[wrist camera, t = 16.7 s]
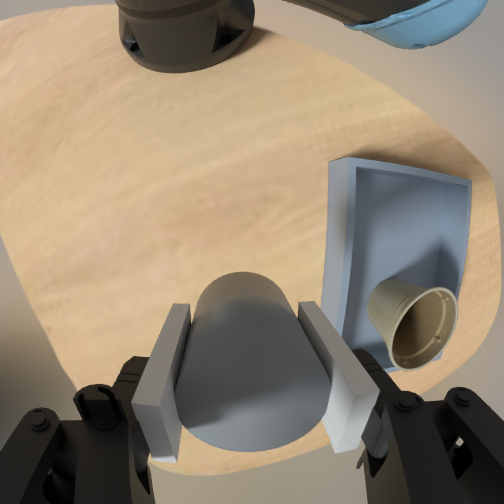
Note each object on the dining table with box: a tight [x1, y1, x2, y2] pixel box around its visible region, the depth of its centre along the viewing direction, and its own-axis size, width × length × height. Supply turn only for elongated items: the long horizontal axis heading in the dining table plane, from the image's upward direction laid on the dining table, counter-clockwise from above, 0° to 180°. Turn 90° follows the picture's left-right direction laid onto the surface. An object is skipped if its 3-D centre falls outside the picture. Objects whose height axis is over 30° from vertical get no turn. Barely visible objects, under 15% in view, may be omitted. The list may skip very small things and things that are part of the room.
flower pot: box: [367, 279, 458, 371], centre depth 26 cm, size 9×9×9 cm
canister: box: [174, 272, 331, 452], centre depth 11 cm, size 5×5×7 cm
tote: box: [321, 157, 472, 373], centre depth 28 cm, size 24×18×5 cm
